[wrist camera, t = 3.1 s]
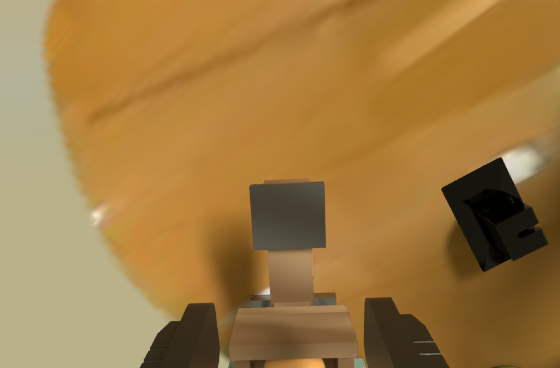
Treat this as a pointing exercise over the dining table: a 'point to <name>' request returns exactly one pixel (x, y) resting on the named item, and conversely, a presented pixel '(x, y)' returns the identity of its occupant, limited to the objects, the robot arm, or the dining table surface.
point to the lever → (291, 283)
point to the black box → (494, 215)
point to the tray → (358, 363)
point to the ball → (295, 363)
